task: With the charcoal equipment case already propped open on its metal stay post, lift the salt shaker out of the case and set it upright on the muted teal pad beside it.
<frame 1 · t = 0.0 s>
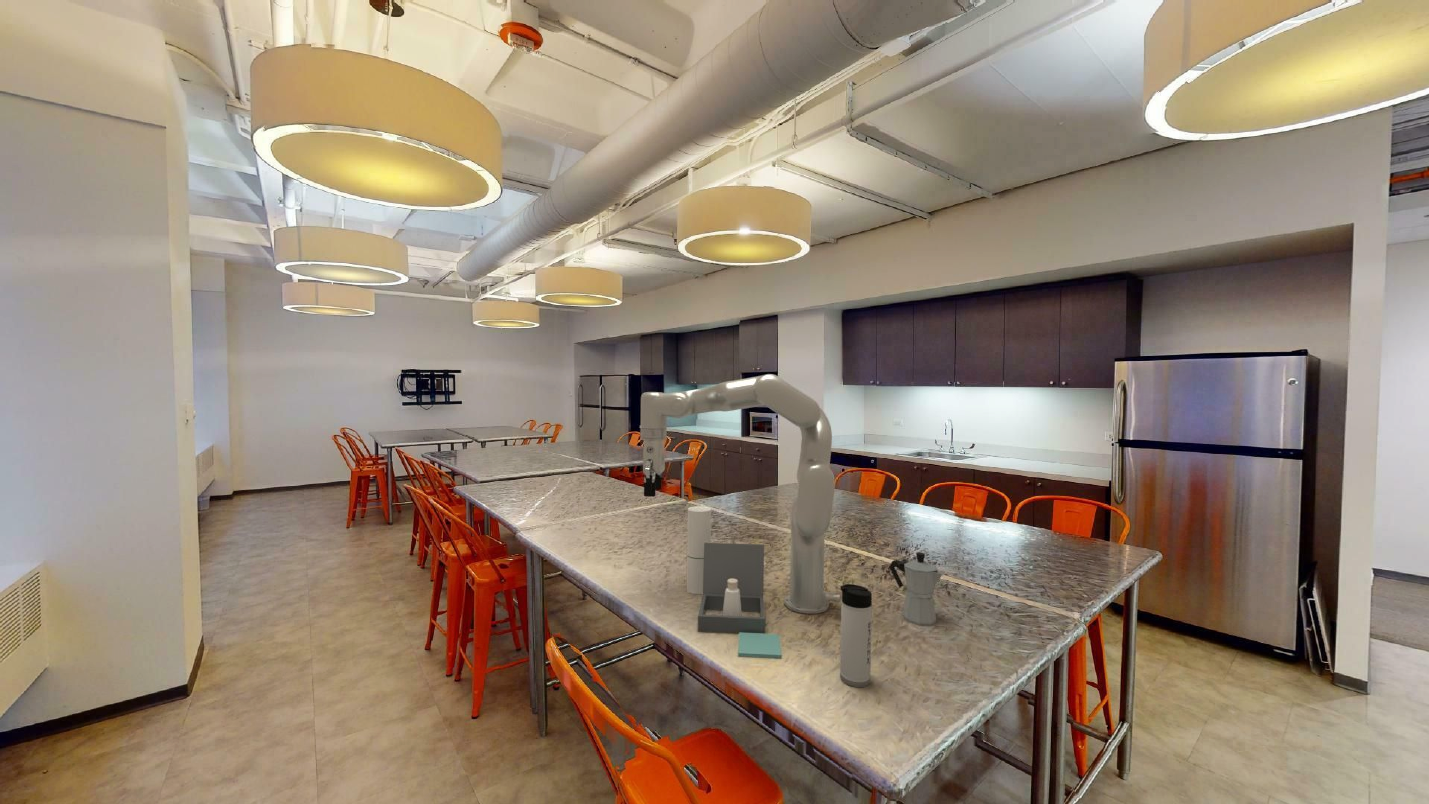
hand: (652, 492, 148), 31 cm above the table, fingers open, 9 cm apart
cylindrical container: (698, 590, 156), on the table
pad: (759, 646, 122), on the table
stay post: (733, 603, 146), on the table
travel mug: (854, 680, 109), on the table
salt shaker: (732, 621, 135), resting in case
case: (732, 620, 135), on the table
lid: (733, 568, 144), point 11 cm above the table, hinge at 100.0°, touching case
coffee maker: (915, 618, 139), on the table
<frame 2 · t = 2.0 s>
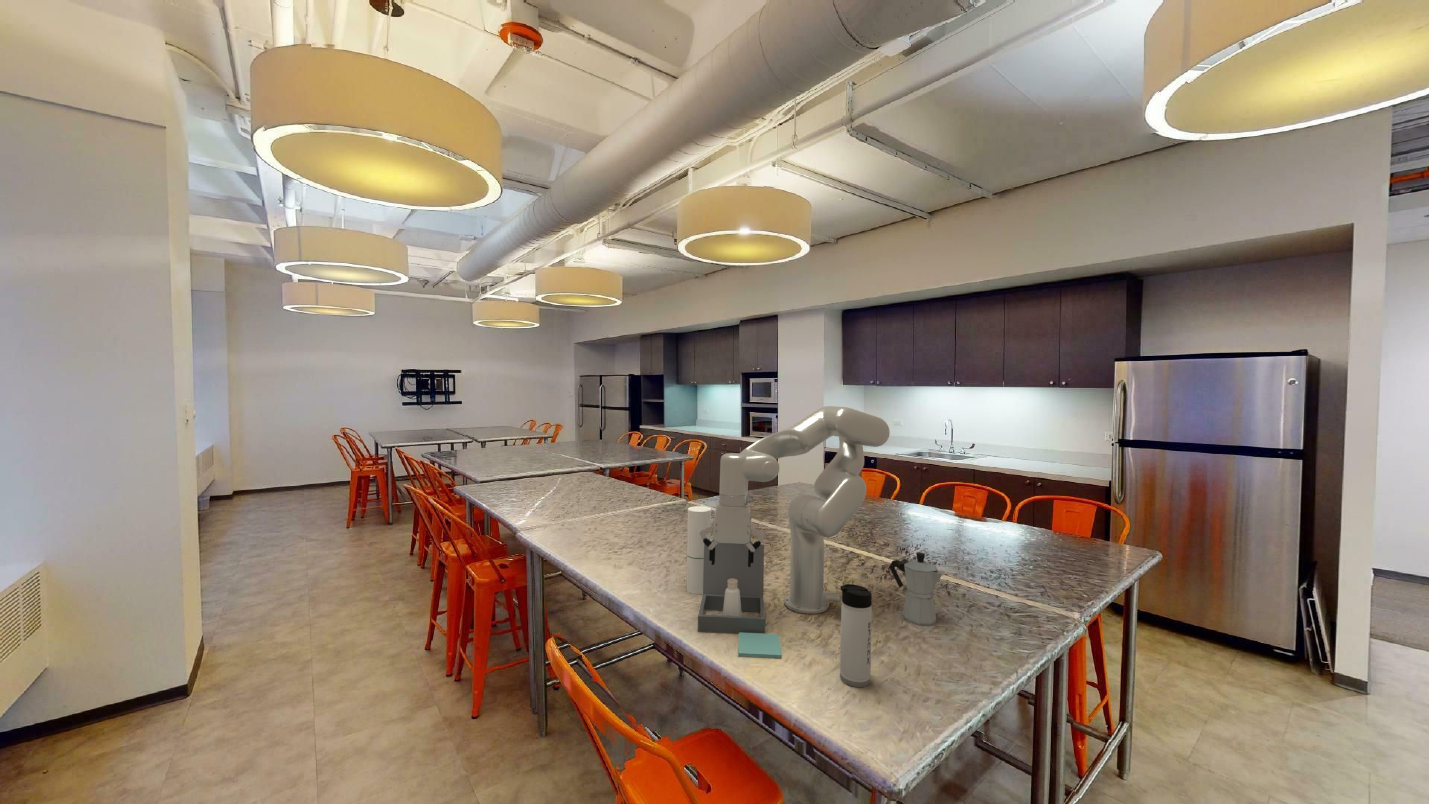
hand: (731, 564, 135), 15 cm above the table, fingers open, 9 cm apart
nothing on the table moved.
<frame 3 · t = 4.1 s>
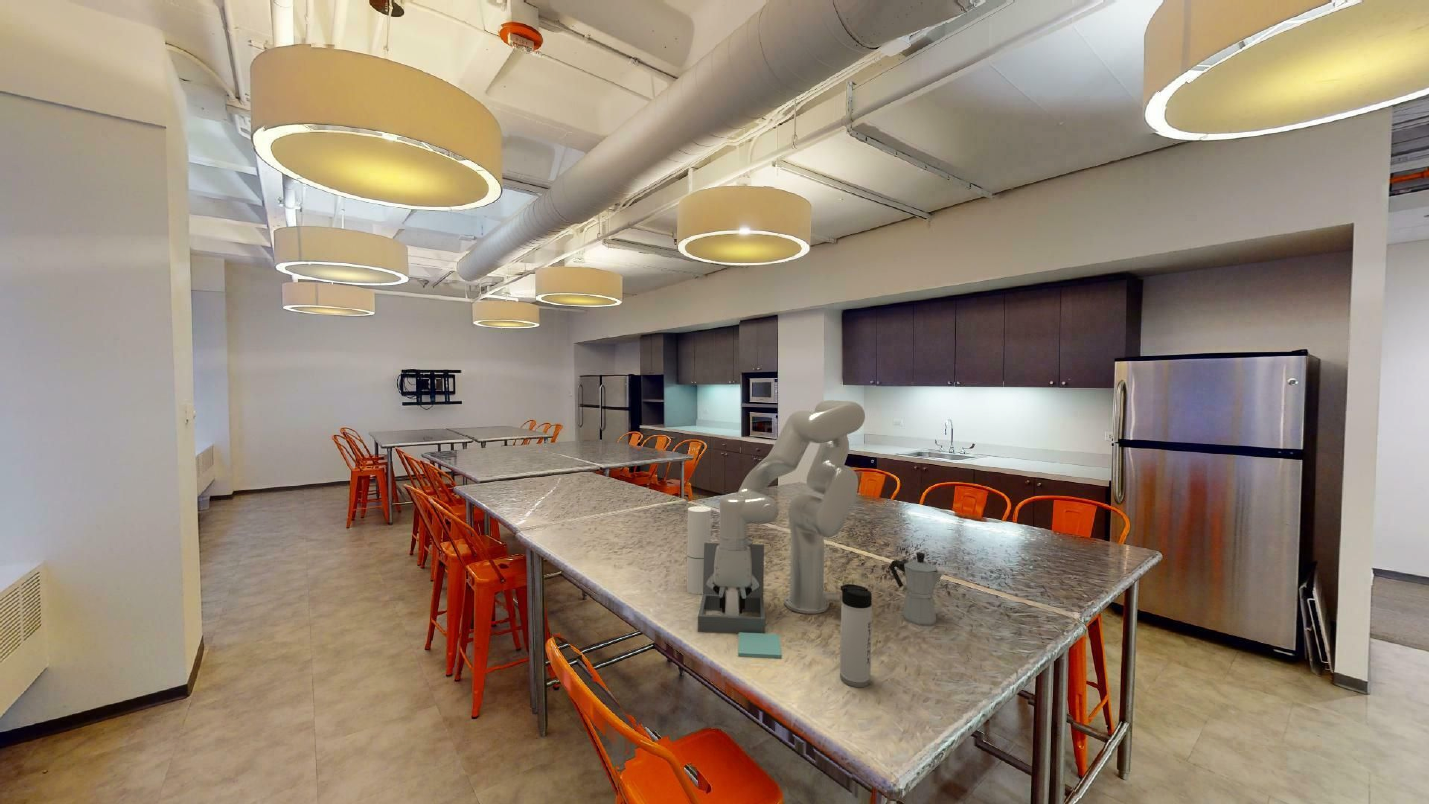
hand: (732, 610, 135), 3 cm above the table, fingers closed on salt shaker, 4 cm apart
salt shaker: (731, 621, 135), resting in case, touching gripper
everything else where it was.
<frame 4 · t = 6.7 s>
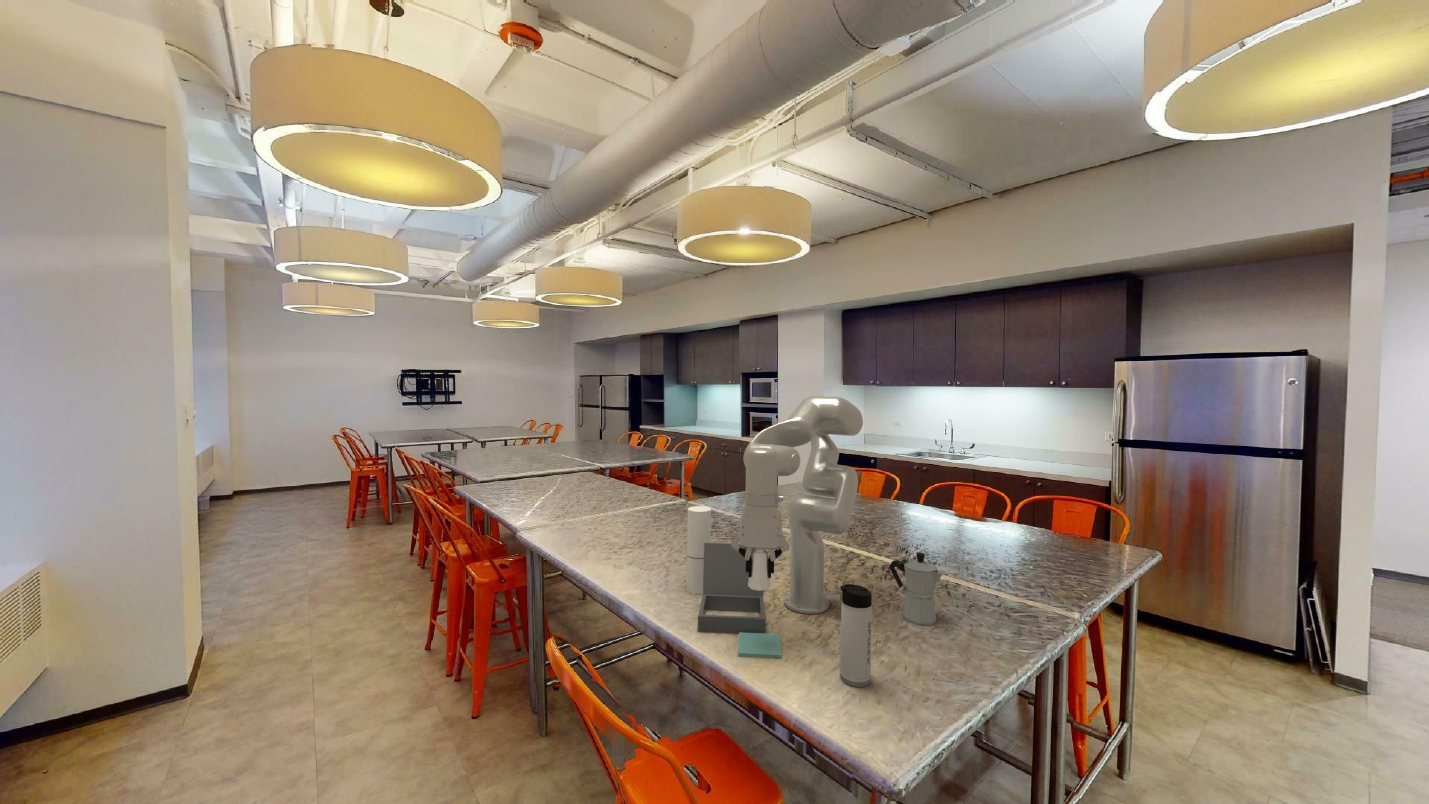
hand: (759, 574, 122), 17 cm above the table, fingers closed on salt shaker, 4 cm apart
salt shaker: (759, 587, 122), point 14 cm above the table, touching gripper
everything else where it was.
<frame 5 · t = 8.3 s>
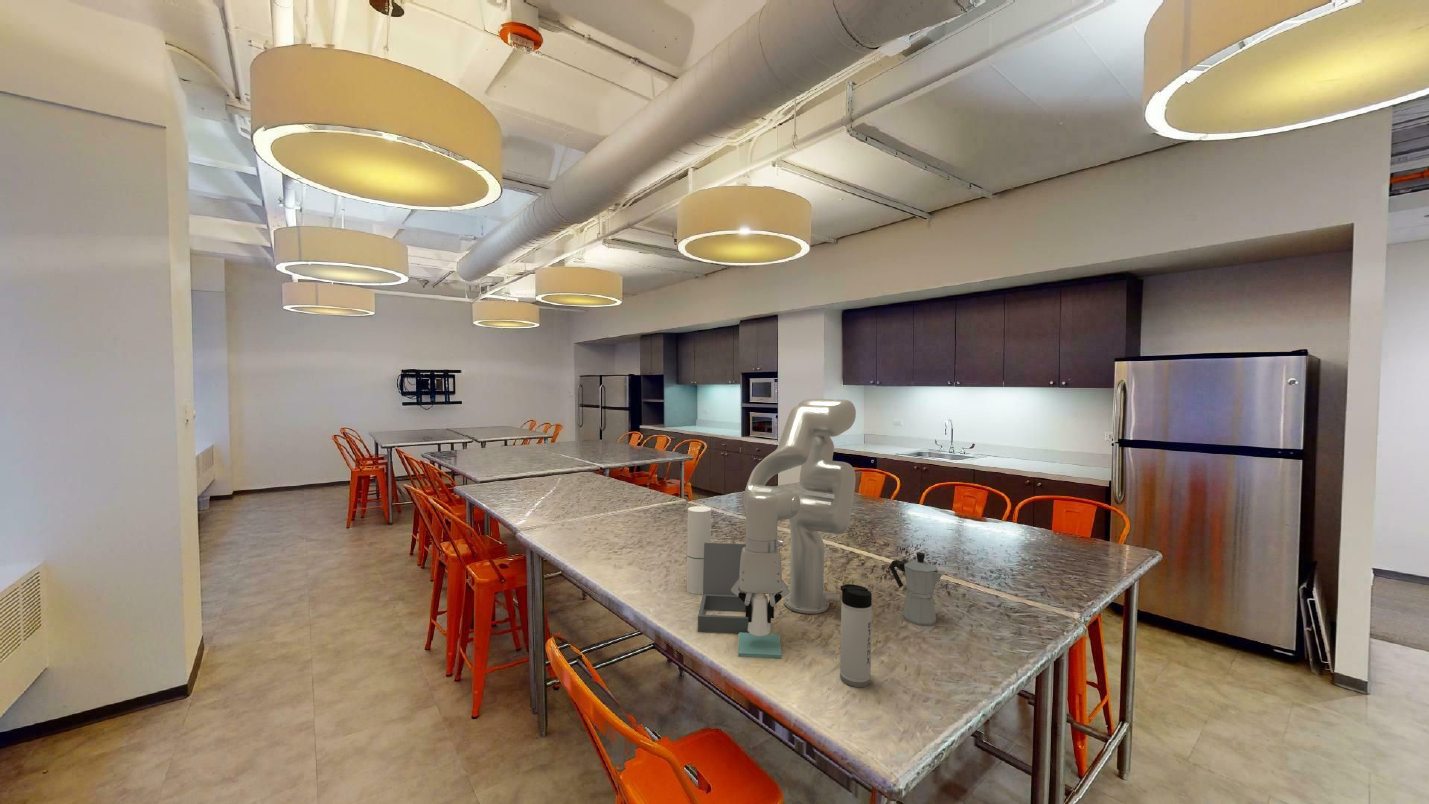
hand: (759, 619, 122), 7 cm above the table, fingers closed on salt shaker, 4 cm apart
salt shaker: (758, 632, 122), point 4 cm above the table, touching gripper
everything else where it was.
when the fingers open (5 cm above the table, at t = 9.3 s): salt shaker drops 1 cm, resting on pad.
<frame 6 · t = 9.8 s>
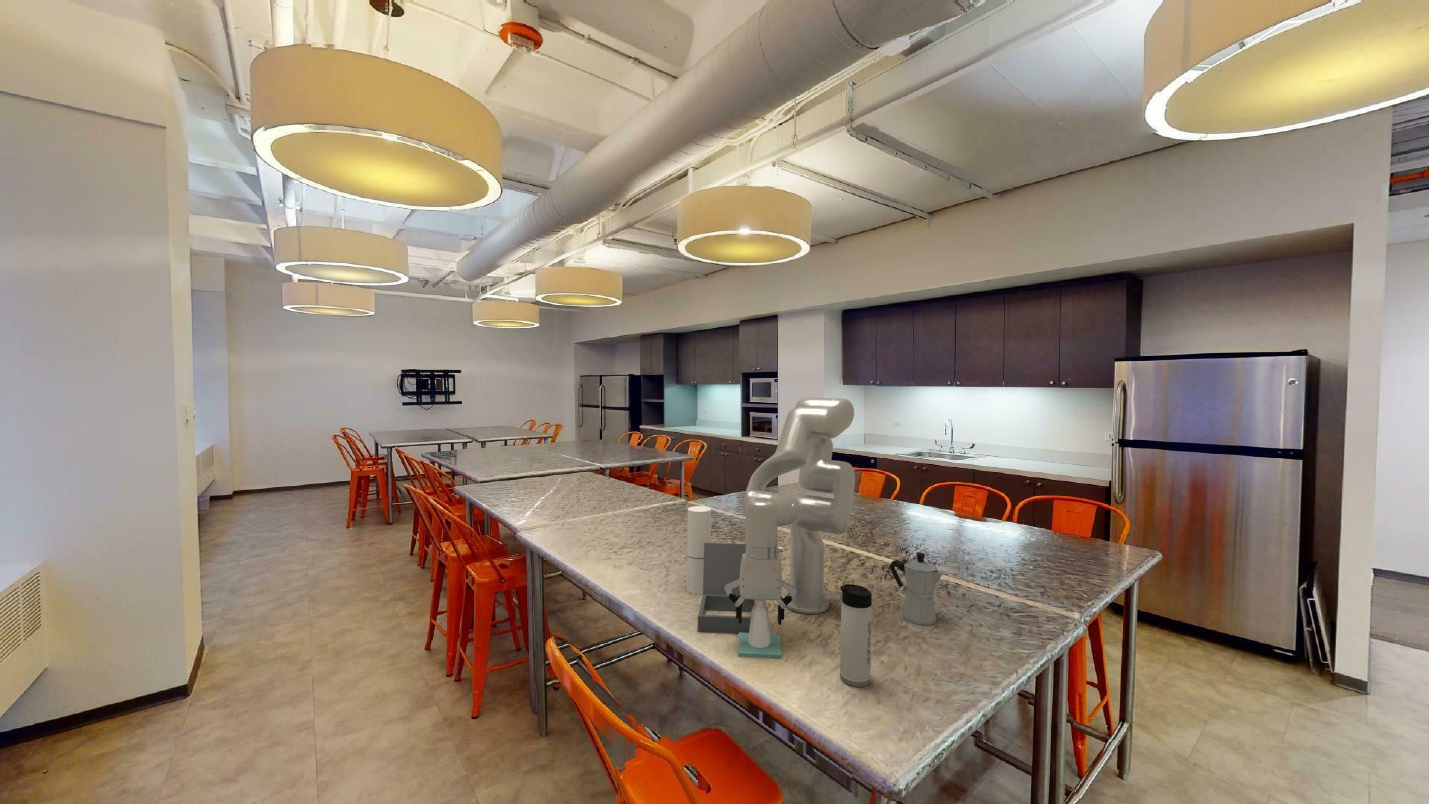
hand: (759, 621, 122), 6 cm above the table, fingers open, 9 cm apart
salt shaker: (759, 643, 122), point 1 cm above the table, touching pad
everything else where it was.
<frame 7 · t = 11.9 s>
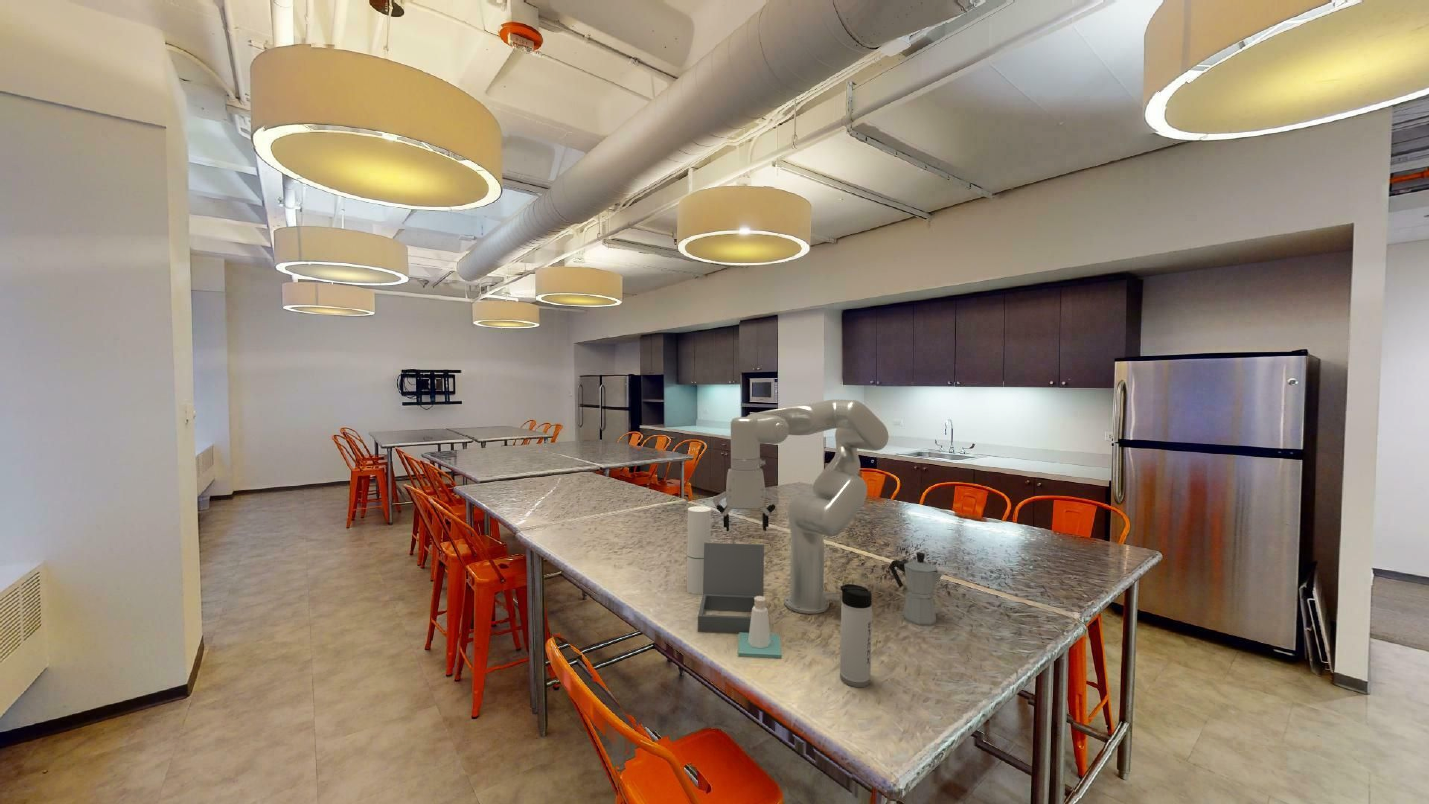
hand: (746, 529, 133), 25 cm above the table, fingers open, 9 cm apart
nothing on the table moved.
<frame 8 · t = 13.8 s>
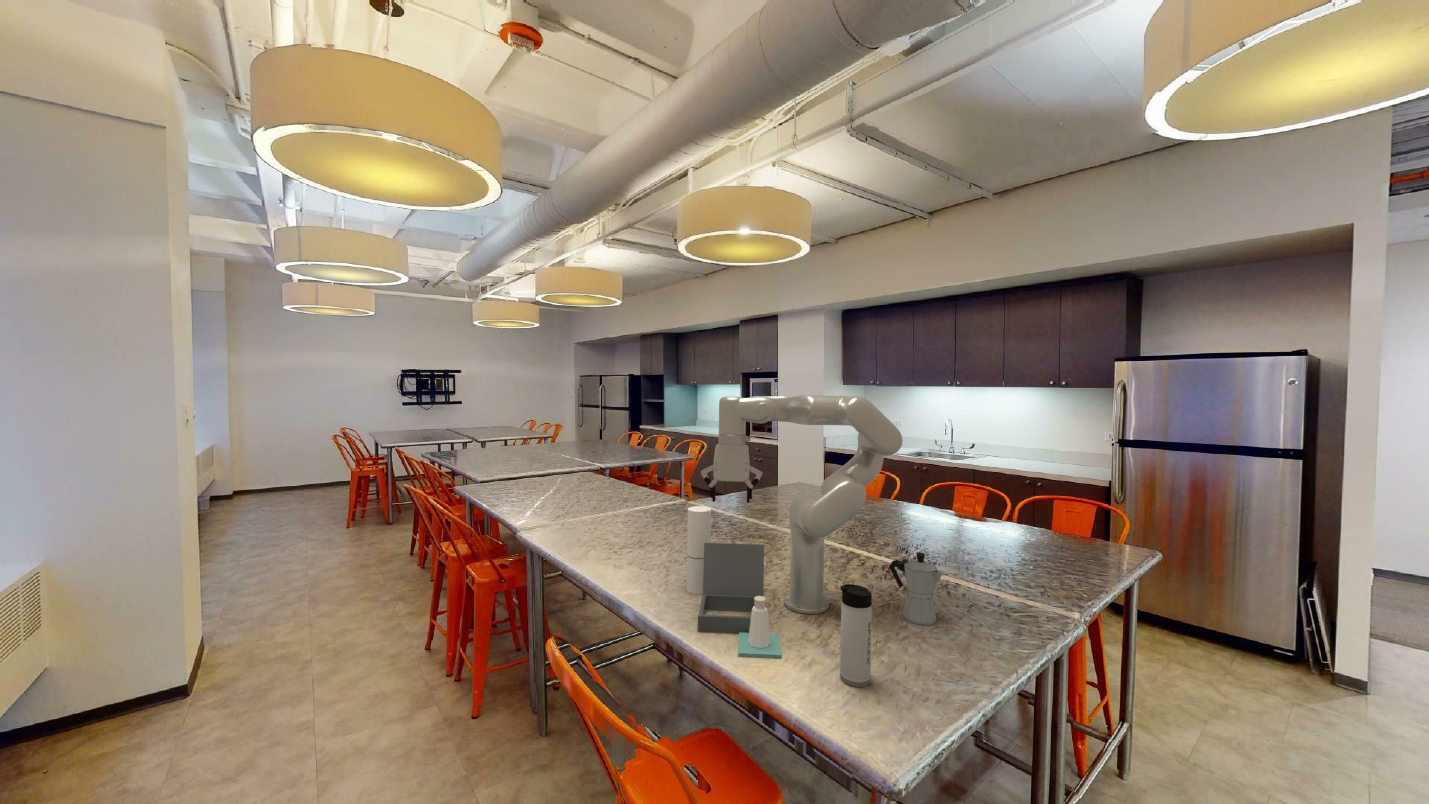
hand: (731, 501, 143), 30 cm above the table, fingers open, 9 cm apart
nothing on the table moved.
at the end: salt shaker inside the target area on the pad (0.1 cm from its centre), point 0.6 cm above the pad's base; salt shaker tilted 0°; the gripper is holding nothing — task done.
